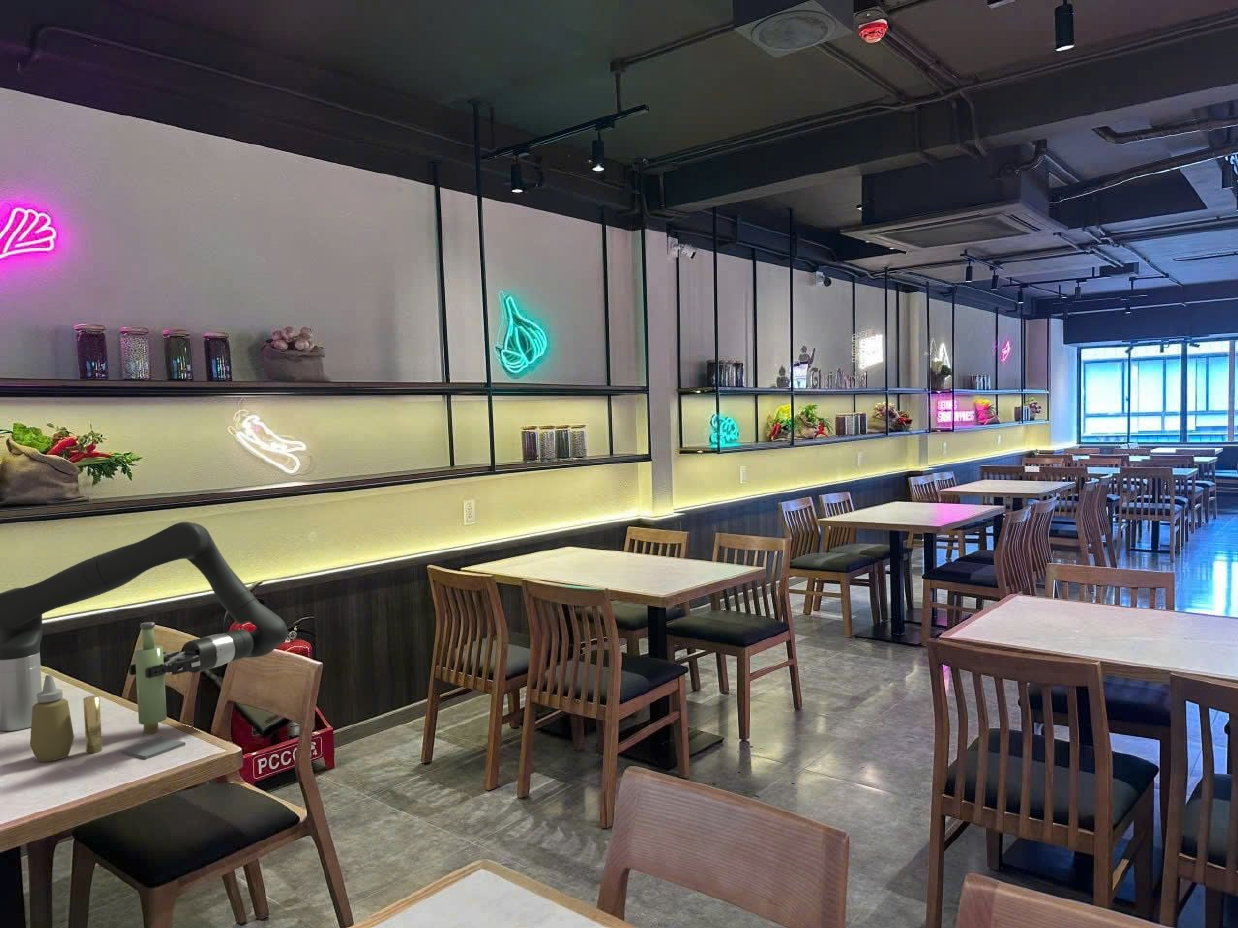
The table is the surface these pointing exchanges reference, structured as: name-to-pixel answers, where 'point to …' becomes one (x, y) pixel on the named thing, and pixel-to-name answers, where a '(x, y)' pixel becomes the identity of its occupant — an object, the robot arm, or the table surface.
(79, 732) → the table surface
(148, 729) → the brass rod
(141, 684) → the olive bottle
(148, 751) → the grey coaster
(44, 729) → the squeeze bottle
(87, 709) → the brass rod
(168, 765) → the table surface
